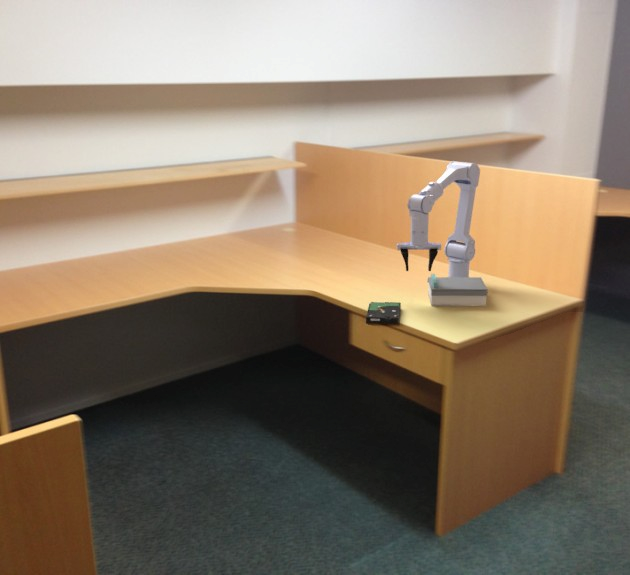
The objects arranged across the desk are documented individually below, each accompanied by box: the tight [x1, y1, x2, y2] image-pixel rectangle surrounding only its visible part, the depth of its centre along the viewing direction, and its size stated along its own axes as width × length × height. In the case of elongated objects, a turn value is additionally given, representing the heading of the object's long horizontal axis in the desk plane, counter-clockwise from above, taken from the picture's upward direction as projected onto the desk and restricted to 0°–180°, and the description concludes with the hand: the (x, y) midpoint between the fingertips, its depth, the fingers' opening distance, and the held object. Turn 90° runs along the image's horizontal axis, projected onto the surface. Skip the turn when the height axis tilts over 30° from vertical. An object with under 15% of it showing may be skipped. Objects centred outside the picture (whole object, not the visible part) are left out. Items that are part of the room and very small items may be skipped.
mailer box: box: [427, 280, 487, 307], centre depth 235 cm, size 13×18×5 cm
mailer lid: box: [427, 273, 489, 297], centre depth 234 cm, size 15×18×4 cm
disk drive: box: [365, 301, 402, 325], centre depth 222 cm, size 10×3×15 cm
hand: (418, 270), depth 233 cm, fingers open, 7 cm apart
